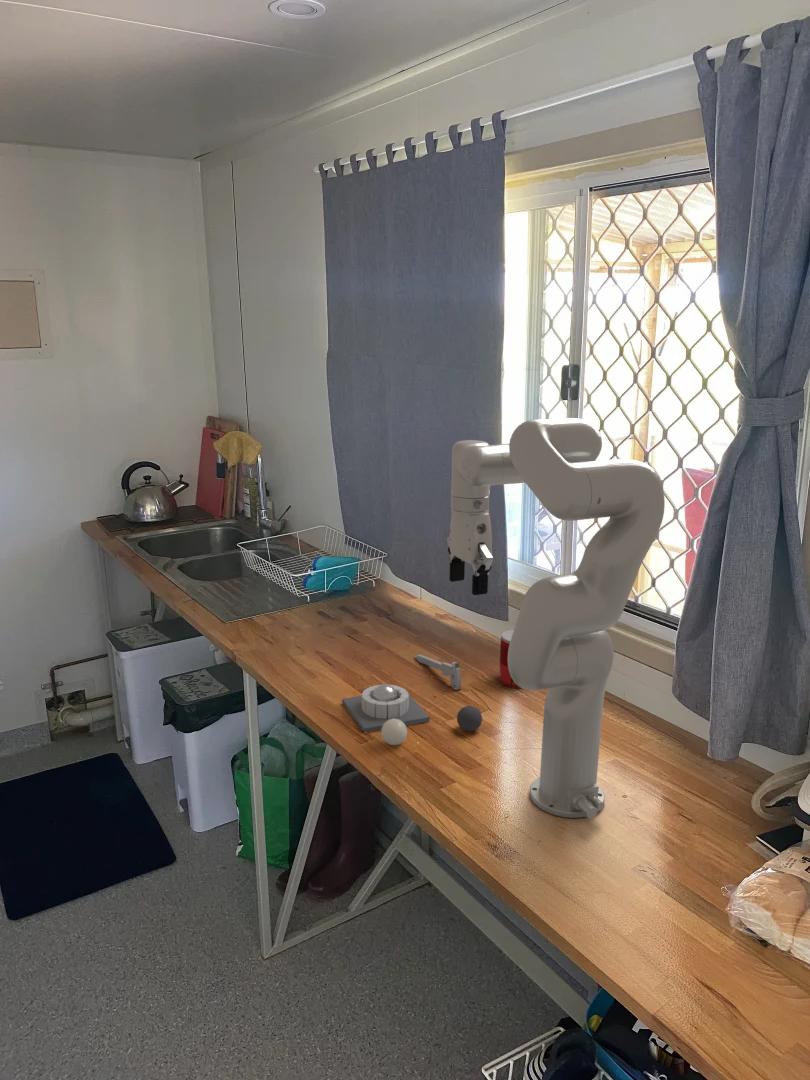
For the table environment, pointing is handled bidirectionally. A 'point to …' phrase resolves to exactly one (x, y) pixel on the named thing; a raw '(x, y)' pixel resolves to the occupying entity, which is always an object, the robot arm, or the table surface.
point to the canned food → (506, 660)
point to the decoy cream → (394, 731)
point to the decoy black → (469, 718)
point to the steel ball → (385, 693)
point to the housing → (384, 709)
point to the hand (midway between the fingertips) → (468, 587)
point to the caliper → (444, 669)
